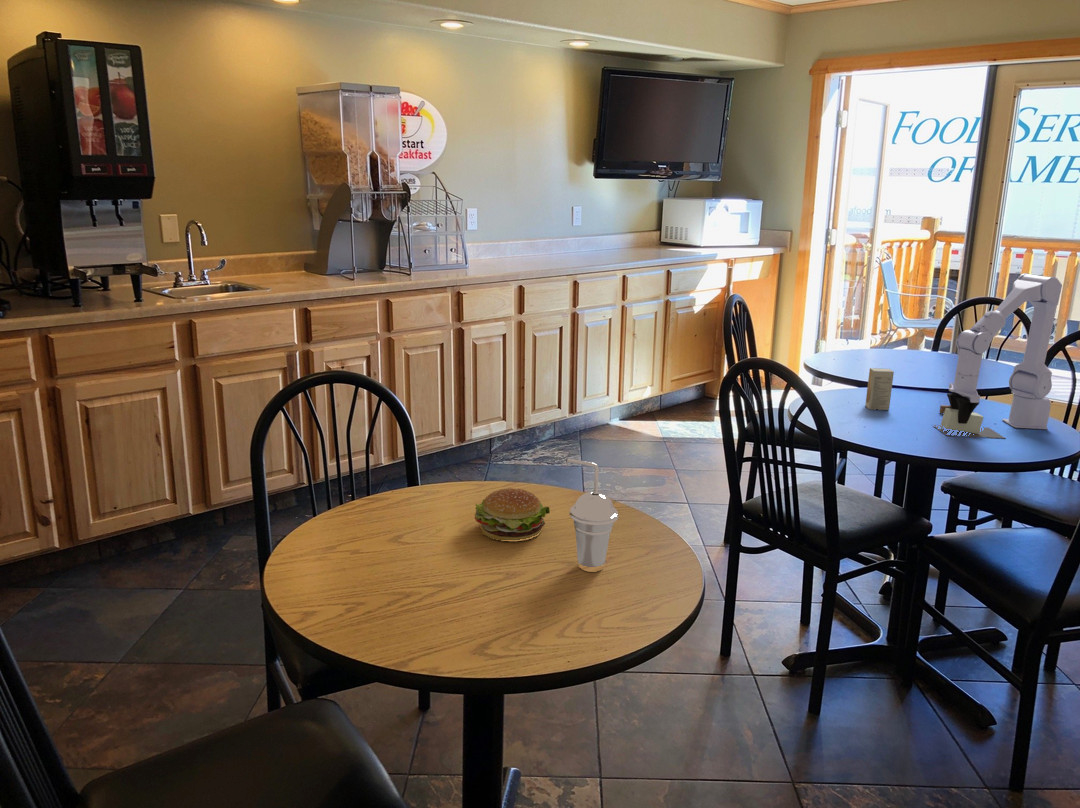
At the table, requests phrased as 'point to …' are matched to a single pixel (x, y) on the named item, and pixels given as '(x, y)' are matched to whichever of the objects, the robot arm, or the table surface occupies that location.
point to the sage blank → (952, 423)
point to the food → (511, 514)
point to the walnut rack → (943, 408)
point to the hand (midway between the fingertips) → (958, 420)
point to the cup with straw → (592, 522)
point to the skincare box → (879, 388)
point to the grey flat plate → (985, 433)
